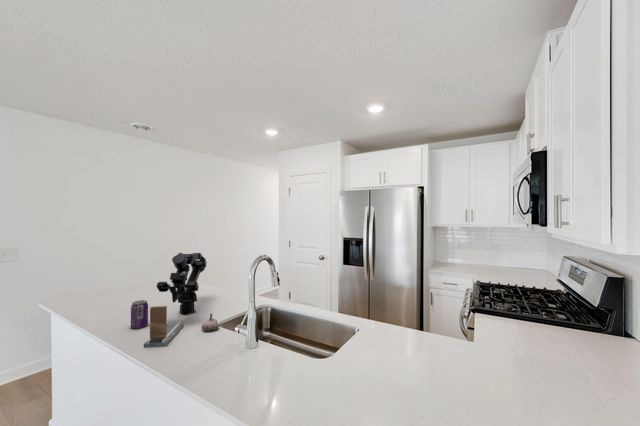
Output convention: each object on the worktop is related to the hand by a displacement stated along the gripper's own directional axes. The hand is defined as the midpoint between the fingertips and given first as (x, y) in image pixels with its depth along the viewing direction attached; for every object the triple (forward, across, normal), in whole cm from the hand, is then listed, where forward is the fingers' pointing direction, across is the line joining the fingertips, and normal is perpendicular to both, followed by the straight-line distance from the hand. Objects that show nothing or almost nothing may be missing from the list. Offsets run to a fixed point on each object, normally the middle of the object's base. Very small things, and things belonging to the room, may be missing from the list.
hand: (173, 302), depth 132 cm
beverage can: (+7, -17, +12) cm, 21 cm away
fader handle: (+20, 0, -5) cm, 20 cm away
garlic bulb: (+13, +19, +5) cm, 23 cm away
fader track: (+16, 0, +2) cm, 16 cm away
